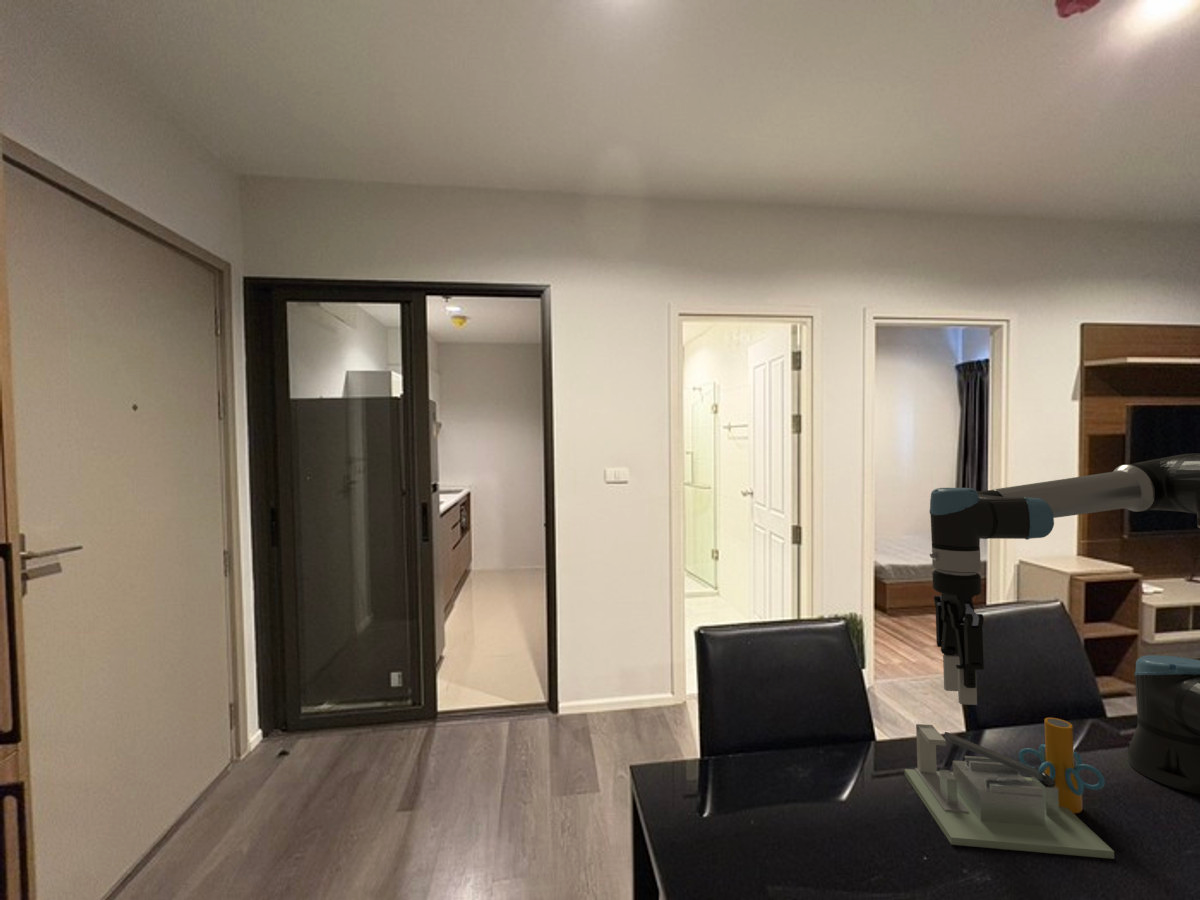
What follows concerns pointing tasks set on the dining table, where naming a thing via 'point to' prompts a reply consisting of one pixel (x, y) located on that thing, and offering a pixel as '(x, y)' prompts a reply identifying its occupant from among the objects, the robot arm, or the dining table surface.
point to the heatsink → (999, 792)
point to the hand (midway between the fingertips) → (960, 696)
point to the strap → (1000, 758)
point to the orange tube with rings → (1063, 764)
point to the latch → (927, 747)
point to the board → (1006, 825)
